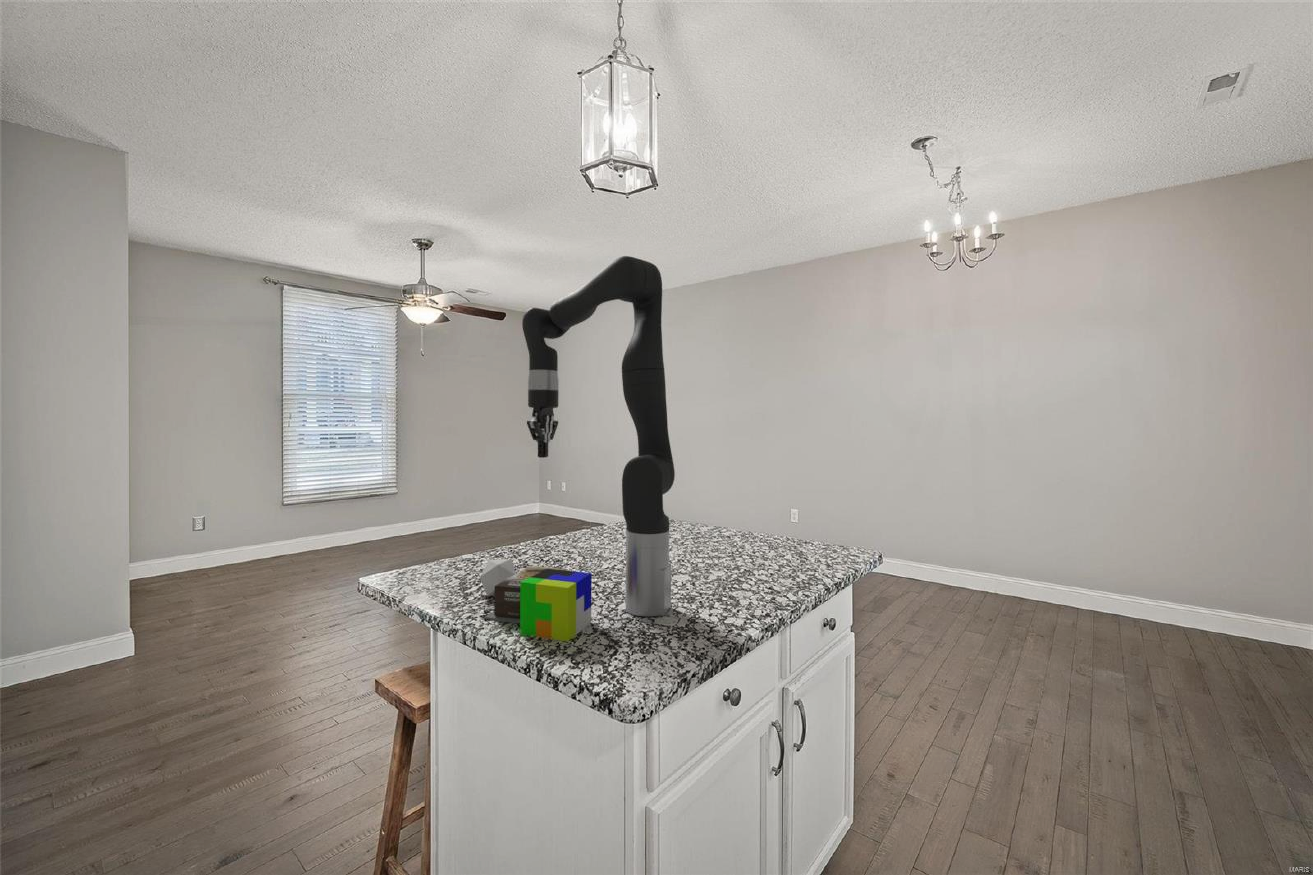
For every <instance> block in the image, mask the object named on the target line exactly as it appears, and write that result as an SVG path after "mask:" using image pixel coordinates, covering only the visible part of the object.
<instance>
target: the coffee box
mask: <svg viewBox="0 0 1313 875" xmlns="http://www.w3.org/2000/svg"><path fill="white" fill-rule="evenodd" d="M546 569H556V570H565V571H566V568H559V567H548V566H538V565H537V566H536V565H528V566H527V567H525V568H523V569H522V570H520V571H518V572H516V574H515V575H513V576H511V577H510V578H508V579H506V580H504V581H503V582H501V583H499V584H497V585H496V586H495V590H494V596H493V597H494V608H493V611H494V615H495V616H504V617H513V618H520V582H522V581H524V580H526V579H528V578H530V577H532V576H534V575H536V574H538V573H540V572H542V571H544V570H546Z"/></svg>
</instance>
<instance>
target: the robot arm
mask: <svg viewBox="0 0 1313 875" xmlns="http://www.w3.org/2000/svg"><path fill="white" fill-rule="evenodd" d="M662 280H663V279H662V275H661V272H660V270H659V268H658V267H657V266H656V265H655V264H654V263H652V262H650V261H647V260H643V259H641V258H637V257H633V256H627V255H624V256H620V257H618V258H616V259H614V260H612V262H610V263H609V264H608V265H607V266H605V267H604V268H603V269H602V270H600V271H599V272H598V273H596V275H594V277H592V278H591V279H589V280H588V281H587V282H586V283H585V284H584V285H582V286H581V287H579V288H577V289H576V290H574V291H572V292H571V293H569V294H567V295H565V296H563V297H560V299H559V298H558V299H557V300H556V301H554V302H553V303H552V304H551V306H549V307H550V308H549V309H543V308H540V307H530V308H528V309H527V310H526V311H525V312H524V314H523V317H522V321H521V322H522V331H523V335H524V339H525V343H526V347H527V351H528V355H529V356H528V358H529V362H528V363H529V364H528V371H529V372H528V379H527V381H528V382H527V384H528V385H527V387H528V388H527V406H528V408H530V409H532V412H531V417H532V418H531V420H530V419H528V420H527V421H526V424H527V427H528V430H529V433H530V435H531V438H532V441H535V442H536V443H537V457H538V458H540V459H541V458H542V459H544V458H548V457H549V443H550V442H551V440H552V441H553V440H554V437H555V434H556V431H557V429H558V426H559V420H555V418H554V417H555V414H554V409H558V407H559V374H558V362H559V361H558V351H557V350H556V349H555V348H553V347H551V346H549V345H548V344H547V343H546V341H545V340H546V339H549V340H554V339H558V338H561V337H563V336H564V335H565V334H566V333H567V332H568V331H569V330H570V329H571V328H572V327H574V326H576V325H578V324H581V323H583V322H585V321H586V320H588V319H590V318H591V317H592V316H593V314H595V312H596V310H597V308H598V306H600V305H602V304H604V303H606V302H611V301H616V300H620V301H622V302H626V303H632V307H633V319H634V324H633V325H634V327H633V332H632V336H631V338H630V341H629V343H628V345H627V348H626V350H625V352H624V355H623V358H622V362H621V380H622V382H621V383H622V390H623V391H622V392H623V397H624V401H625V403H626V407H627V410H628V412H629V414H630V417H631V420H632V421H633V424H634V428H635V430H636V436H637V448H638V451H637V452H638V456H635V457H633V458H631V459H629V461H628V462H627V463H626V464H625V466H624V469H623V470H622V471H623V472H622V476H621V477H622V478H621V492H622V493H621V497H622V514H623V518H624V520H625V529H626V530H625V533H626V534H625V537H626V538H625V598H624V599H625V611H626V612H627V613H628V614H630V615H633V616H638V617H655V616H662V617H663V616H665V615H667V613H668V611H670V608H671V607H672V563H670V519H669V516H668V515H666V513H665V511H664V499H663V498H664V496H663V495H665V494H666V493H668V492H669V491H670V490H671V489H672V487H673V484H674V482H675V476H676V473H675V471H676V470H675V464H674V460H673V454H672V448H671V443H670V437H669V436H670V434H669V427H668V425H669V424H668V408H667V407H668V406H667V391H666V377H665V376H666V375H665V364H664V355H663V354H664V353H663V352H664V349H663V332H662V314H663V312H662V311H663V281H662Z"/></svg>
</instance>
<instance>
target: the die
mask: <svg viewBox="0 0 1313 875" xmlns="http://www.w3.org/2000/svg"><path fill="white" fill-rule="evenodd" d="M516 573H517V571H516V568H515V567H514V564H513V561H512V559H510V558H507V559H506V558H505V559H504V558H503V559H488V561H487V563H486V564H485V566H484V568H483V569H482V572H481V574H480V575H479V579H480V582H481V585H482V586H483V589H484V591H485V594H486V596H487V597H494V590H495V586H496V585H497V584H499V583H501V582H503V581H504V580H506V579H508V578H510V577H511V576H513V575H515V574H516Z"/></svg>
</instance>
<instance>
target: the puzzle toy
mask: <svg viewBox="0 0 1313 875" xmlns="http://www.w3.org/2000/svg"><path fill="white" fill-rule="evenodd" d="M592 574H593V573H592V572H591V573H590V572H584V571H583V572H581V571H574V570H566V569H565V570H556V569H546V570H544V571H542V572H540V573H538V574H536V575H534V576H532V577H530V578H528V579H526V580H524V581H522V582H520V623H519V624H520V627H519V628H520V629H519V630H520V631H519V632H520V634H519V635H524V636H528V637H529V636H531V637H536V638H544V639H548V640H556V641H561V642H567V643H568V642H569V641H571V640H572V638H574V637H575V636H576V635H578V634H579V633H581V632H582V631H583V630H584V629H585V628H586V627H588V626H589V625H590V624H591V623H592V588H593V587H592V582H593V581H592V579H593V577H592V576H593V575H592Z"/></svg>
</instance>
